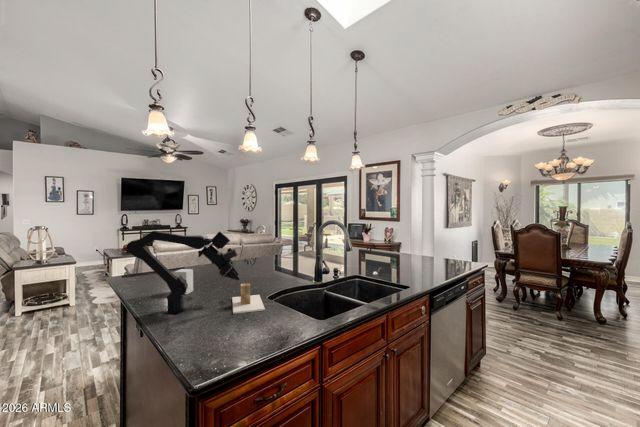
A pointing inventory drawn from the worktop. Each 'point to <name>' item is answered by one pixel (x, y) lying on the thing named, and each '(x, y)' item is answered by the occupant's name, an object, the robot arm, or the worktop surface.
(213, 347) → the worktop surface
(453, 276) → the worktop surface
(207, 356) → the worktop surface
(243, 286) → the oak block
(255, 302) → the cutting board
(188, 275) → the supplement box
